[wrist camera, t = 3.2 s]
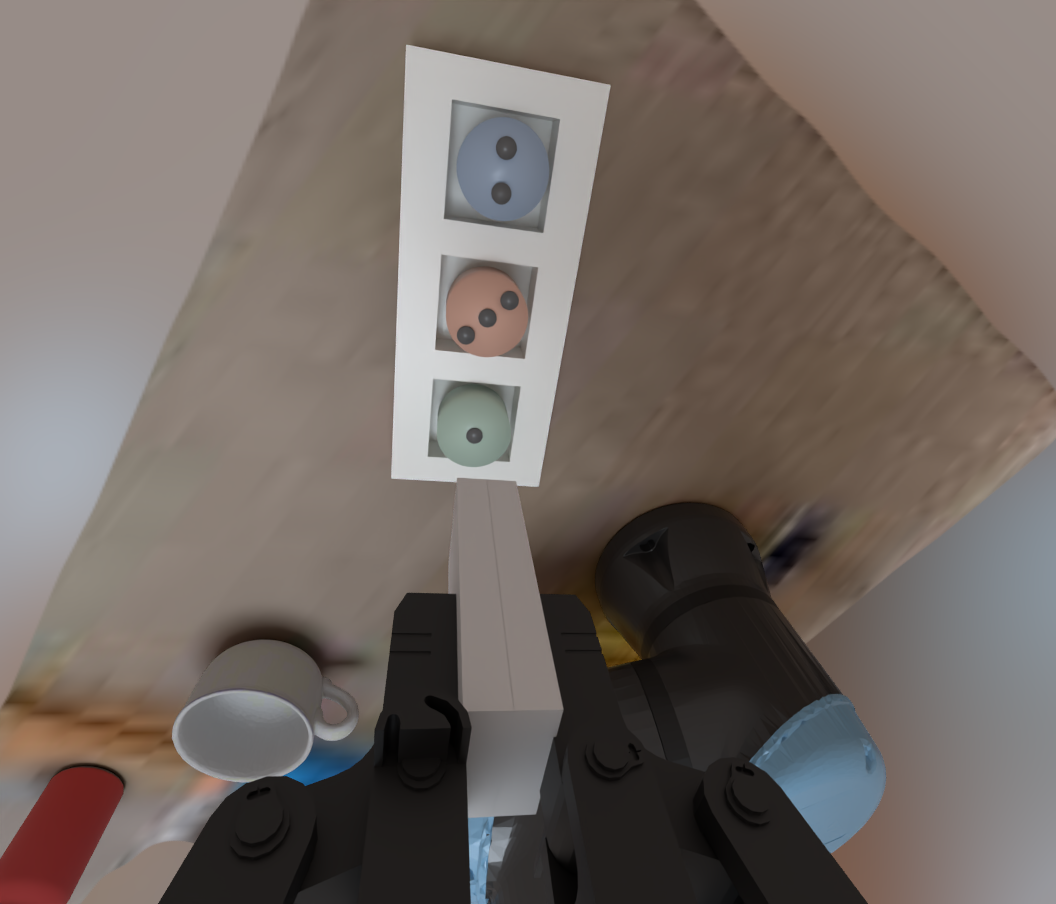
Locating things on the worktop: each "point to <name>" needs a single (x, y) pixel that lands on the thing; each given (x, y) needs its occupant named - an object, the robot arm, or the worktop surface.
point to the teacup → (258, 712)
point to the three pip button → (486, 312)
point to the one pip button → (473, 426)
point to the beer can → (59, 837)
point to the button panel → (486, 253)
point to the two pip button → (502, 169)
